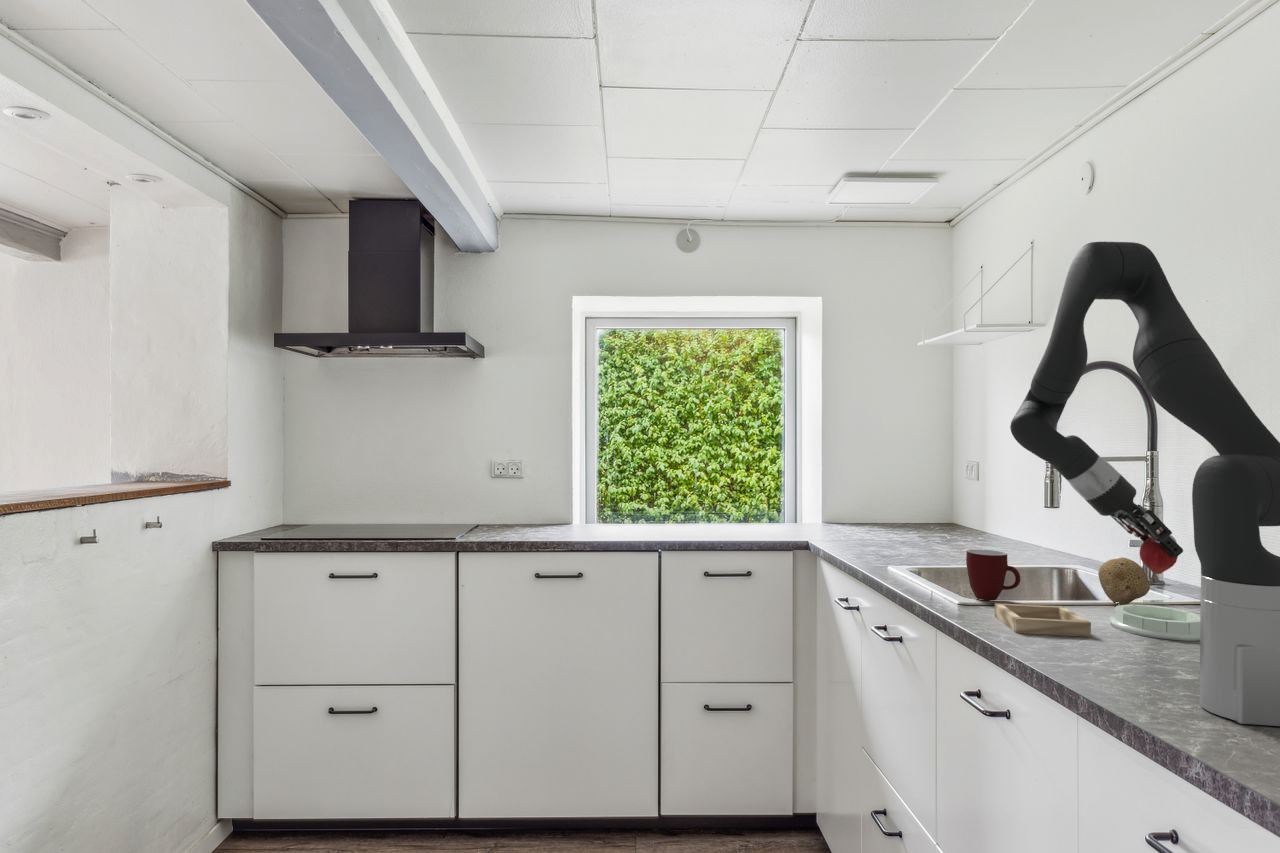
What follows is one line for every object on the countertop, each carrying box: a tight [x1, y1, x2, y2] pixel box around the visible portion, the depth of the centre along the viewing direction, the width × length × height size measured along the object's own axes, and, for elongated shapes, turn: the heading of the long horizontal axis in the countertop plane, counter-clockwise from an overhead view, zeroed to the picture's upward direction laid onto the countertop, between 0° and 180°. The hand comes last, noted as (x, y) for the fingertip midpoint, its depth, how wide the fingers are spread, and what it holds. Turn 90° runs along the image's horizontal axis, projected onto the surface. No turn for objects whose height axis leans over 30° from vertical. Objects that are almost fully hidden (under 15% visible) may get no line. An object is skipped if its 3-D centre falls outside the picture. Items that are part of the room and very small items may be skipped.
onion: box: [1139, 530, 1179, 575], centre depth 139 cm, size 6×6×8 cm
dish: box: [1109, 603, 1200, 642], centre depth 139 cm, size 15×15×3 cm
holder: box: [994, 602, 1092, 638], centre depth 140 cm, size 12×12×2 cm
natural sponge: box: [1097, 557, 1151, 605], centre depth 158 cm, size 9×9×10 cm
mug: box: [965, 549, 1021, 602], centre depth 162 cm, size 11×8×10 cm
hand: (1168, 551), depth 139 cm, fingers closed on onion, 6 cm apart
